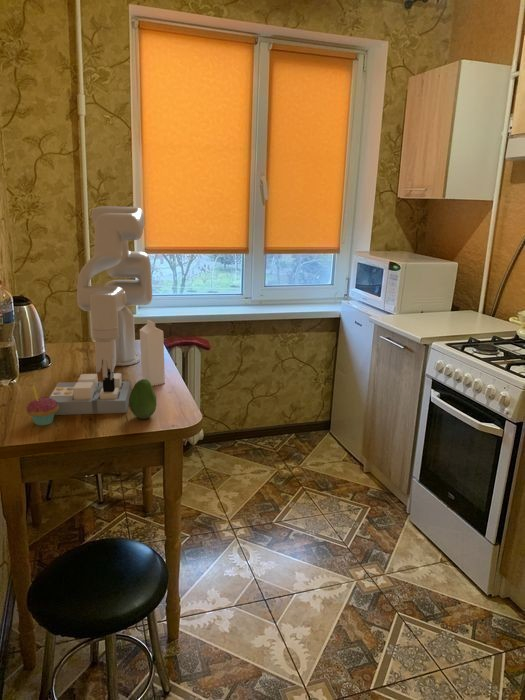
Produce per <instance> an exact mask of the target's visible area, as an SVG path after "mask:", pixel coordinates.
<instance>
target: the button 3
mask: <svg viewBox="0 0 525 700" xmlns="http://www.w3.org/2000/svg"><path fill="white" fill-rule="evenodd" d="M118 398H119V388H115V390H114V392H104V391H103V388H102V389H101V392H100V399H118Z"/></svg>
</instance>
